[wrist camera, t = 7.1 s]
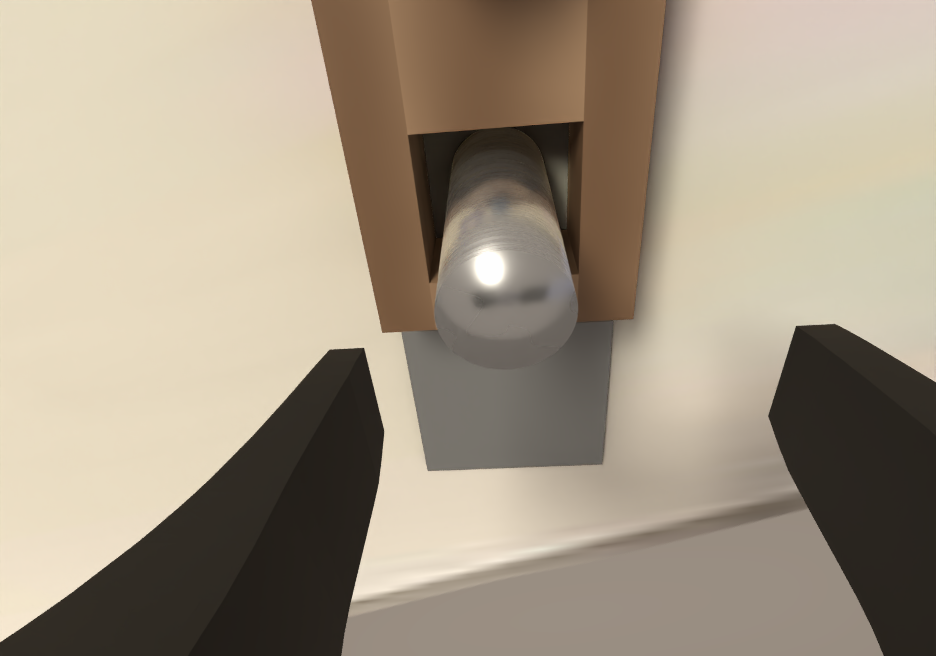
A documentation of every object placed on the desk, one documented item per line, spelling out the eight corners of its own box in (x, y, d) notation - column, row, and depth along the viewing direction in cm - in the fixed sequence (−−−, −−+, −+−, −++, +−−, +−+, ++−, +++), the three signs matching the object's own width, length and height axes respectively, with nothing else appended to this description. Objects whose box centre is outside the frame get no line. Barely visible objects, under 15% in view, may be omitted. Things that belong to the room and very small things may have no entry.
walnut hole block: (670, -445, 11) (722, -546, 9) (615, 270, 20) (633, 318, 18) (268, -388, 12) (211, -466, 9) (394, 284, 21) (382, 332, 19)
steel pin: (544, 122, 17) (580, 246, 11) (544, 212, 19) (576, 366, 13) (446, 129, 18) (425, 256, 11) (455, 219, 19) (442, 372, 13)
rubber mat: (611, 316, 22) (613, 321, 21) (601, 459, 26) (602, 464, 26) (402, 328, 22) (401, 332, 22) (428, 465, 27) (427, 471, 27)
